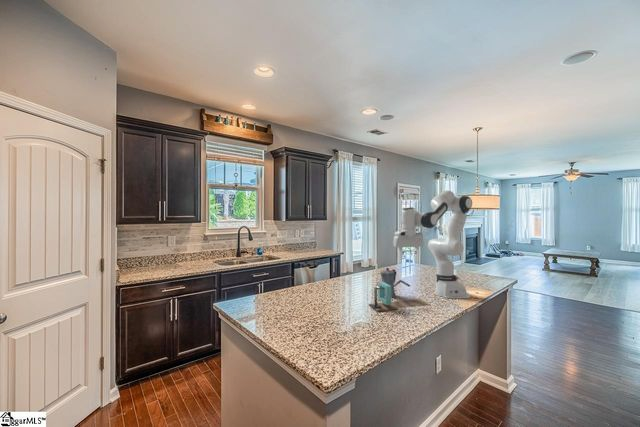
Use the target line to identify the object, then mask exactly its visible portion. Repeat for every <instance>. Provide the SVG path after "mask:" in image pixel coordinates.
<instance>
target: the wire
mask: <svg viewBox="0 0 640 427" xmlns="http://www.w3.org/2000/svg"><path fill="white" fill-rule="evenodd" d="M399 284H404V285H406V286H407V287H411V284H409V283H407V282H405V281H403V280H402V279H400V280H398V281H397V282H395V283H394V285H393V286H391V288H393V287H394V288H395V287H396V286H398V285H399ZM378 289H385V288H383V287H378V286H375V287H374V288H373V293H374V294H373V296H374V297H373V298H374V299H373V300H374V302H373V303H374V304H373V303H369V304H370V306H371V307H372V308H381V306H380V305H379V304H377V303H378ZM370 306H369V307H370ZM371 307H370V308H371ZM372 308H371V309H372Z"/></svg>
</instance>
